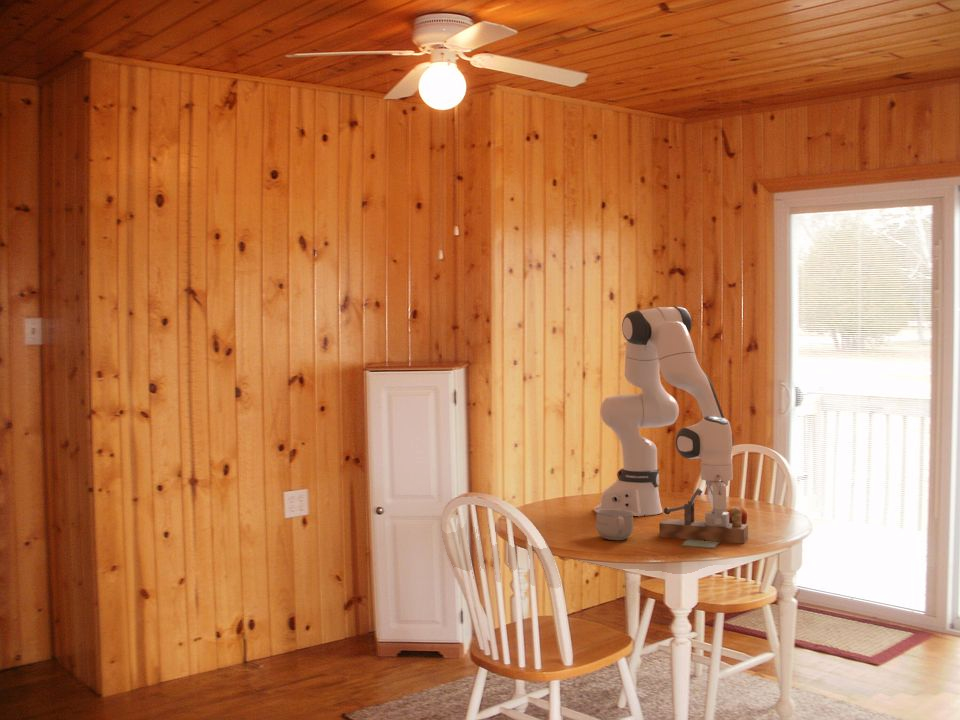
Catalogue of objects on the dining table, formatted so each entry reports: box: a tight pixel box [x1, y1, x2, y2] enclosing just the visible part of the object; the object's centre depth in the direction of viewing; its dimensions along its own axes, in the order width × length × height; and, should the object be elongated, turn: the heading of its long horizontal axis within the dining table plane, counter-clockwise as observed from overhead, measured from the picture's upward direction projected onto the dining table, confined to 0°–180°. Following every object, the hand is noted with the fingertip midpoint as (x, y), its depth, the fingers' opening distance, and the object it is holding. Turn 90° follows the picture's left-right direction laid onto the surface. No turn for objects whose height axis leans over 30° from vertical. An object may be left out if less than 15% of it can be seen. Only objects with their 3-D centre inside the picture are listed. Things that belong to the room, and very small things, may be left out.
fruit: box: [723, 505, 748, 525], centre depth 286 cm, size 8×8×8 cm
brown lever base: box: [658, 500, 749, 544], centre depth 275 cm, size 24×7×10 cm, turn 65°
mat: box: [681, 539, 720, 549], centre depth 266 cm, size 9×7×1 cm
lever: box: [663, 488, 704, 515], centre depth 277 cm, size 12×3×7 cm
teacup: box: [595, 509, 634, 541], centre depth 275 cm, size 14×11×8 cm
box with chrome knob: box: [704, 510, 729, 527], centre depth 273 cm, size 6×4×4 cm
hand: (717, 521), depth 273 cm, fingers closed on box with chrome knob, 5 cm apart
